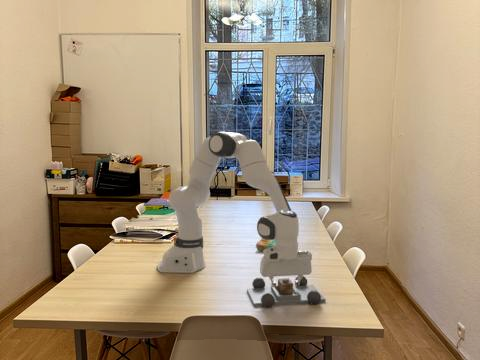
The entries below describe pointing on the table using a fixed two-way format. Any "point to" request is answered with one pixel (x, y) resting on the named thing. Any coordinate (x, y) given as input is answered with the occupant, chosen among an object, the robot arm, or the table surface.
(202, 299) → the table surface
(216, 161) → the robot arm
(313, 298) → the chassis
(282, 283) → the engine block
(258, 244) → the puzzle game
